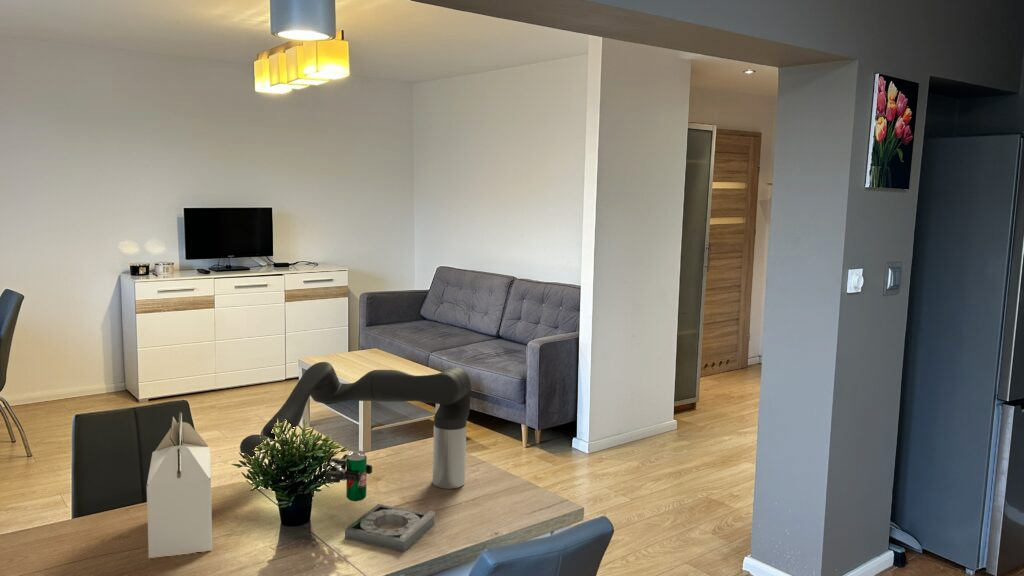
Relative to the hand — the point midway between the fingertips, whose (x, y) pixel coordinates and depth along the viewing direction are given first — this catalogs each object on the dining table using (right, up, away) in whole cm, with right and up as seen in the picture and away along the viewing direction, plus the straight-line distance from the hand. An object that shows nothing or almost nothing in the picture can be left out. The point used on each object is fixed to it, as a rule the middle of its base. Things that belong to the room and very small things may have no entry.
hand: (365, 473), depth 199 cm
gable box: (-42, -12, -12) cm, 45 cm away
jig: (+7, -13, -6) cm, 16 cm away
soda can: (-3, -7, +2) cm, 8 cm away
